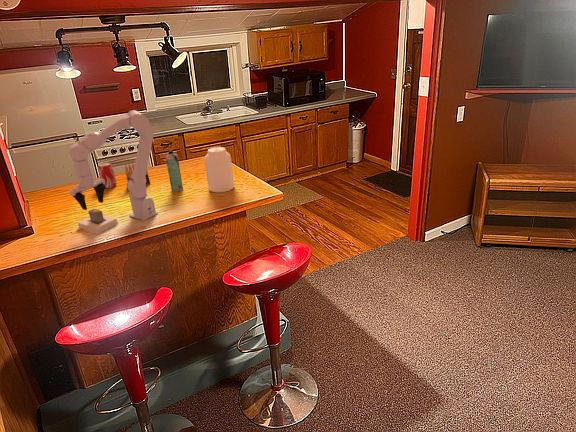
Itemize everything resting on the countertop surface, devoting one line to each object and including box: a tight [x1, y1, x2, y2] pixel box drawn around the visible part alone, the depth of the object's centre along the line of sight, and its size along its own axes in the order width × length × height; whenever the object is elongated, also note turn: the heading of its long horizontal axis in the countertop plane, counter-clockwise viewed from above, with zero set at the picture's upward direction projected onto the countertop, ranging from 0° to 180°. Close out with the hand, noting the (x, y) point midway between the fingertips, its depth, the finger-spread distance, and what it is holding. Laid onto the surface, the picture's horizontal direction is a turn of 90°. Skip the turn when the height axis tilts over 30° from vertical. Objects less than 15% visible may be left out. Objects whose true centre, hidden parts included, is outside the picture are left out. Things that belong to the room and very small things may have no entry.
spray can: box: [165, 149, 184, 193], centre depth 205 cm, size 6×6×20 cm
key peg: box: [88, 208, 104, 224], centre depth 175 cm, size 3×5×7 cm, turn 58°
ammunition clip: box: [124, 162, 151, 185], centre depth 215 cm, size 11×2×12 cm, turn 114°
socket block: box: [77, 214, 119, 235], centre depth 176 cm, size 12×10×2 cm
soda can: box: [97, 161, 117, 189], centre depth 215 cm, size 7×7×12 cm
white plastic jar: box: [204, 146, 235, 193], centre depth 204 cm, size 12×12×20 cm
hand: (93, 205), depth 173 cm, fingers open, 7 cm apart
